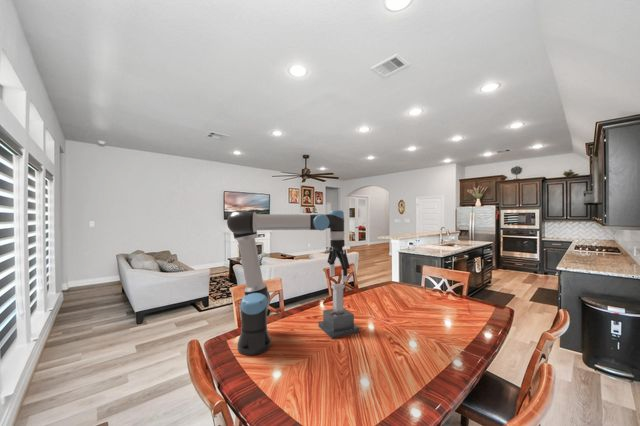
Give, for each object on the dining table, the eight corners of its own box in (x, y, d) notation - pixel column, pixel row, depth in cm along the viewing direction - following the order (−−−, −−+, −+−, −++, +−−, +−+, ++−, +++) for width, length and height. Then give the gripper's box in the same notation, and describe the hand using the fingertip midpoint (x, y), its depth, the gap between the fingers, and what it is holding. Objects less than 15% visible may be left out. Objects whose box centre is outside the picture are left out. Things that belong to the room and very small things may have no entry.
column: (335, 332, 138) (334, 286, 138) (331, 328, 142) (331, 284, 142) (345, 329, 140) (344, 285, 141) (341, 326, 144) (340, 283, 145)
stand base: (331, 338, 131) (331, 318, 131) (318, 326, 145) (318, 308, 145) (359, 332, 137) (359, 313, 137) (344, 321, 152) (343, 304, 152)
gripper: (356, 240, 132) (356, 283, 132) (332, 237, 154) (333, 273, 154) (342, 241, 129) (343, 285, 128) (321, 237, 151) (321, 275, 151)
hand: (338, 279), depth 141 cm, fingers open, 13 cm apart
